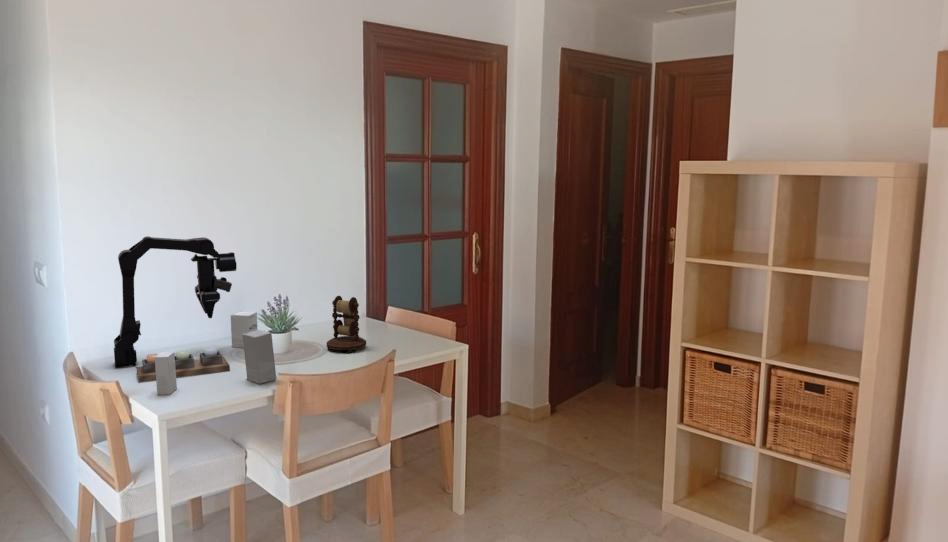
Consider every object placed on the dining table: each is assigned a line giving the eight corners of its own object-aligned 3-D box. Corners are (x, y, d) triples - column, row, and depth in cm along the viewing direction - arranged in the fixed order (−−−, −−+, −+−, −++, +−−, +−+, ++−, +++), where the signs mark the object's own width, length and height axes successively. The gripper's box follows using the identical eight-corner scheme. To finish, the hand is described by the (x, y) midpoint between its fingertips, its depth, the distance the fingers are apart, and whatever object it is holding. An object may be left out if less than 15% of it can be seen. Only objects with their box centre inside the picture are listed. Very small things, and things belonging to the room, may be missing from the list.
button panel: (139, 382, 237) (138, 367, 237) (136, 372, 248) (135, 358, 247) (229, 370, 250) (229, 356, 249) (224, 362, 261) (223, 348, 260)
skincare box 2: (276, 380, 240) (274, 332, 237) (256, 385, 235) (254, 336, 232) (263, 375, 246) (261, 328, 243) (243, 379, 241) (241, 332, 238)
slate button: (205, 359, 250) (205, 351, 249) (204, 356, 253) (203, 348, 253) (218, 358, 252) (217, 349, 251) (216, 355, 255) (215, 346, 255)
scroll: (373, 346, 283) (372, 294, 279) (351, 355, 269) (350, 301, 266) (341, 342, 289) (340, 291, 286) (318, 351, 276) (316, 298, 272)
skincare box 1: (163, 388, 231) (160, 351, 229) (177, 388, 232) (174, 351, 230) (156, 395, 225) (153, 356, 223) (171, 394, 226) (168, 356, 224)
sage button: (177, 363, 246) (176, 354, 245) (175, 360, 249) (175, 351, 249) (189, 361, 248) (189, 352, 247) (188, 358, 251) (187, 350, 251)
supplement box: (249, 348, 279) (247, 315, 277) (231, 347, 280) (229, 314, 278) (258, 343, 286) (257, 311, 284) (241, 342, 288) (239, 310, 286)
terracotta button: (147, 366, 242) (147, 357, 241) (146, 363, 245) (146, 354, 245) (160, 365, 244) (160, 356, 243) (159, 362, 247) (159, 353, 247)
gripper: (234, 275, 261) (236, 318, 263) (225, 267, 277) (227, 308, 279) (200, 277, 256) (203, 321, 258) (193, 270, 272) (195, 311, 274)
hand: (208, 315), depth 268 cm, fingers open, 9 cm apart
